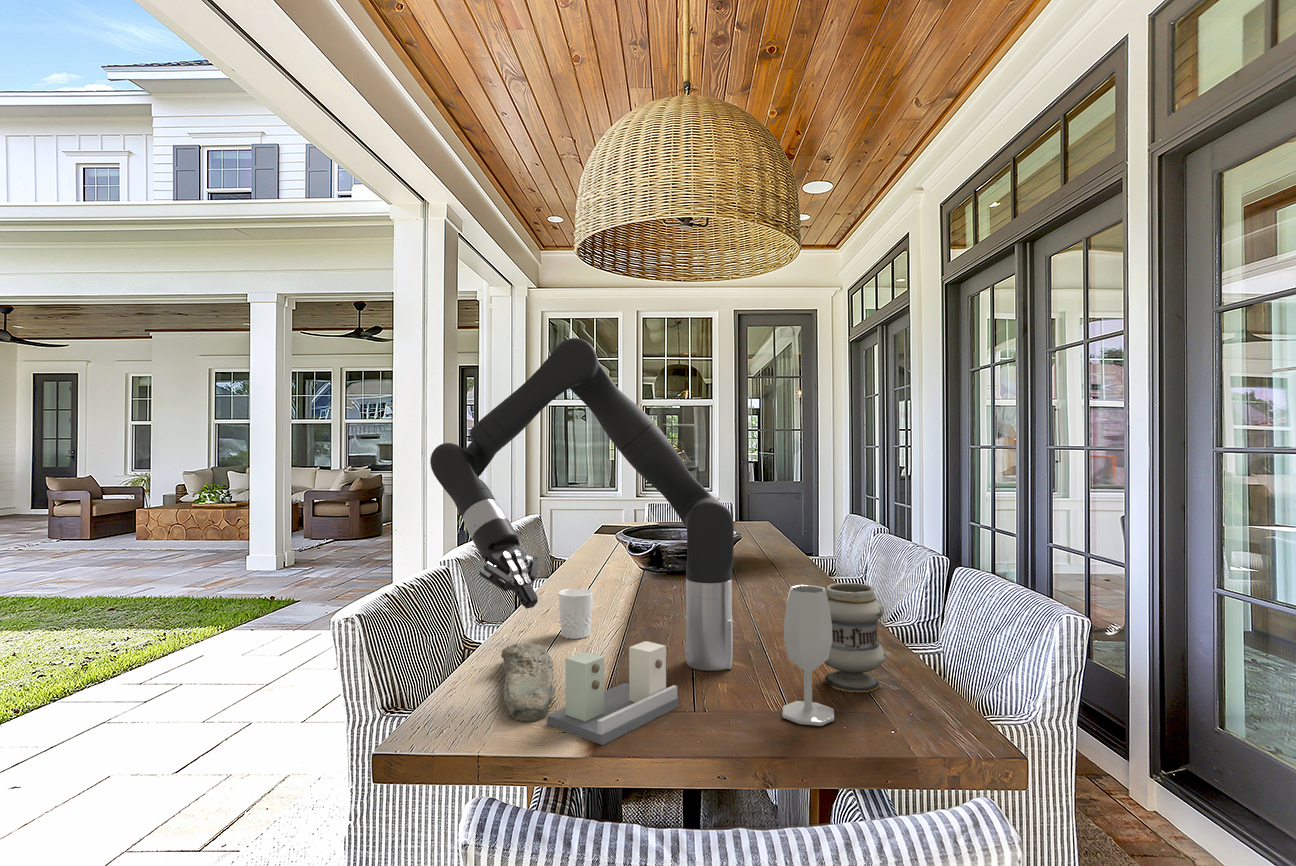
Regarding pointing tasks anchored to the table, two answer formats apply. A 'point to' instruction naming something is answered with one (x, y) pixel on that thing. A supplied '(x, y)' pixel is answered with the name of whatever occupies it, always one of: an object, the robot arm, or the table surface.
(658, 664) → the white block
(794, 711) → the wineglass
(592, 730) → the tile board
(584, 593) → the white cup
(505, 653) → the elongated rock
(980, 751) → the table surface
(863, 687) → the apothecary jar
